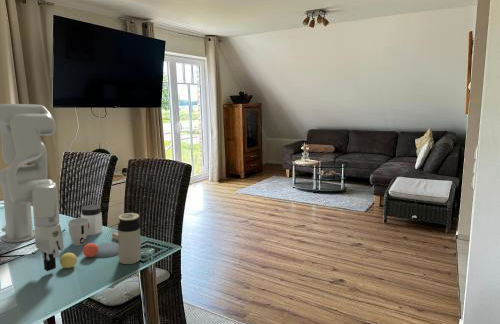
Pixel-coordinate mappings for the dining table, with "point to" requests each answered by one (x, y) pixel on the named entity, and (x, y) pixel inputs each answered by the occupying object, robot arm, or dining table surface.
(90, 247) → the red ball
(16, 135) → the robot arm
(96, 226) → the jar
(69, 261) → the ochre ball
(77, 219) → the cup
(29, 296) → the dining table surface
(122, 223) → the travel mug
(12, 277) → the dining table surface
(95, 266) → the dining table surface
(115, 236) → the wooden stick
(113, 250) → the slate mark
